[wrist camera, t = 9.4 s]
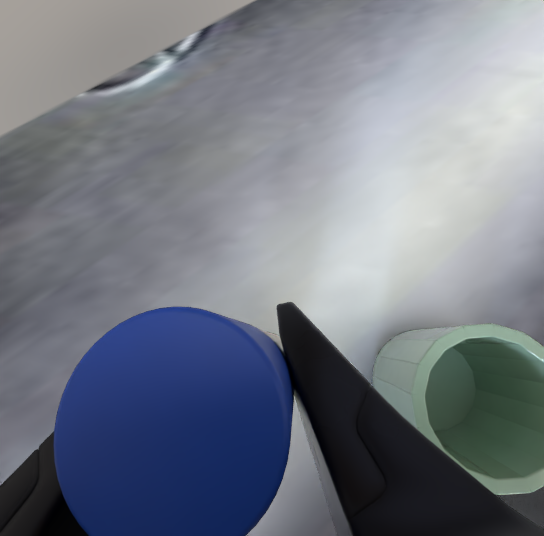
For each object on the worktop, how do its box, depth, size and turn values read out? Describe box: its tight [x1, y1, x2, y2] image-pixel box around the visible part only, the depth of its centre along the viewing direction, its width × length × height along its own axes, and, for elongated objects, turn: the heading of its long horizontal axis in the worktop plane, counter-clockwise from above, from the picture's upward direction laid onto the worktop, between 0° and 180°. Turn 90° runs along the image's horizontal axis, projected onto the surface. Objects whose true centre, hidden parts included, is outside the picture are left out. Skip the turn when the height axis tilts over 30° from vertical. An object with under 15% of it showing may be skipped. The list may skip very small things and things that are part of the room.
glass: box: [372, 323, 544, 495], centre depth 12 cm, size 5×5×6 cm
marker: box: [54, 307, 294, 536], centre depth 10 cm, size 3×3×12 cm
